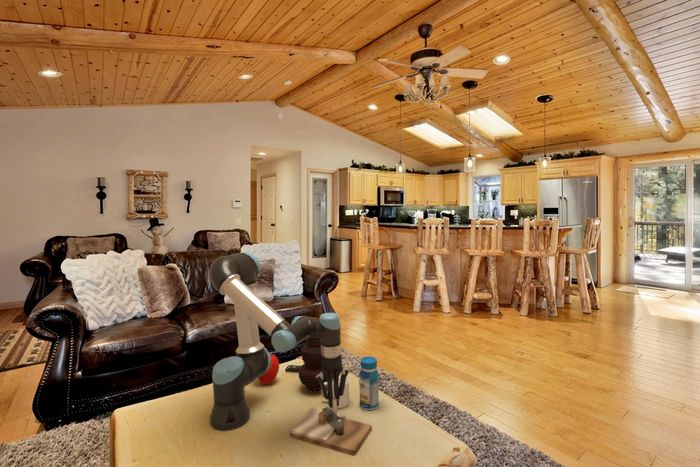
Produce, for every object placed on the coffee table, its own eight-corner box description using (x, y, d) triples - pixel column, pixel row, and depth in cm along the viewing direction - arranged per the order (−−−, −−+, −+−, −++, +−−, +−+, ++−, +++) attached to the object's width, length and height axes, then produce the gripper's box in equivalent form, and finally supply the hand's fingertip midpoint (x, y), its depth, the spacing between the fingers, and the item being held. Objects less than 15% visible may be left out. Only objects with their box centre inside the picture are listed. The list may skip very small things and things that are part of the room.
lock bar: (345, 433, 138) (345, 419, 138) (338, 436, 136) (338, 422, 136) (328, 417, 148) (328, 405, 148) (321, 420, 147) (321, 407, 146)
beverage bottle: (380, 410, 156) (379, 363, 154) (359, 411, 155) (358, 364, 154) (378, 399, 164) (378, 355, 162) (358, 400, 164) (358, 355, 162)
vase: (296, 383, 180) (294, 321, 177) (327, 378, 184) (326, 317, 182) (301, 399, 165) (299, 332, 162) (336, 393, 170) (334, 328, 167)
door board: (289, 436, 140) (289, 419, 139) (311, 413, 154) (311, 398, 153) (354, 455, 129) (354, 437, 128) (371, 429, 143) (371, 412, 143)
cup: (346, 409, 157) (346, 386, 156) (318, 407, 159) (318, 383, 158) (350, 399, 165) (350, 376, 164) (324, 396, 167) (323, 374, 166)
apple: (272, 374, 190) (271, 348, 188) (284, 382, 181) (283, 355, 179) (250, 381, 182) (249, 354, 181) (261, 391, 173) (260, 362, 172)
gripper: (318, 361, 137) (321, 424, 139) (351, 354, 143) (353, 414, 145) (312, 354, 144) (315, 413, 146) (343, 348, 149) (346, 405, 151)
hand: (334, 414), depth 145 cm, fingers closed
